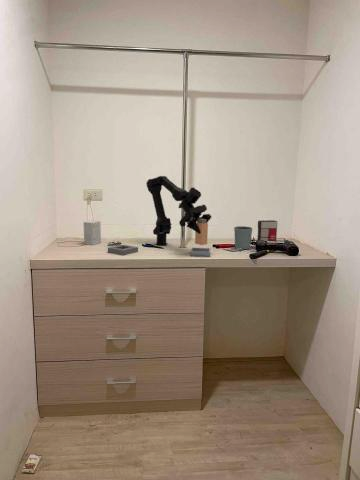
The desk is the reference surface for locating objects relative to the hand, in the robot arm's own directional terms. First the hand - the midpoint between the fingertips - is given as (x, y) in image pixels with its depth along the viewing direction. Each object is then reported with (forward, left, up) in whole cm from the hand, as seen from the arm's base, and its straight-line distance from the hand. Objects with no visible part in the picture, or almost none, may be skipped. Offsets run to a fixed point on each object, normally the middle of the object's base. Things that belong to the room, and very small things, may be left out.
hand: (203, 232), depth 195 cm
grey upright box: (-32, +37, -12) cm, 50 cm away
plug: (-1, -1, -6) cm, 6 cm away
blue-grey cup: (-22, +22, -12) cm, 33 cm away
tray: (-1, -1, -12) cm, 12 cm away
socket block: (+5, -41, -12) cm, 43 cm away
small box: (-19, -65, -12) cm, 69 cm away
